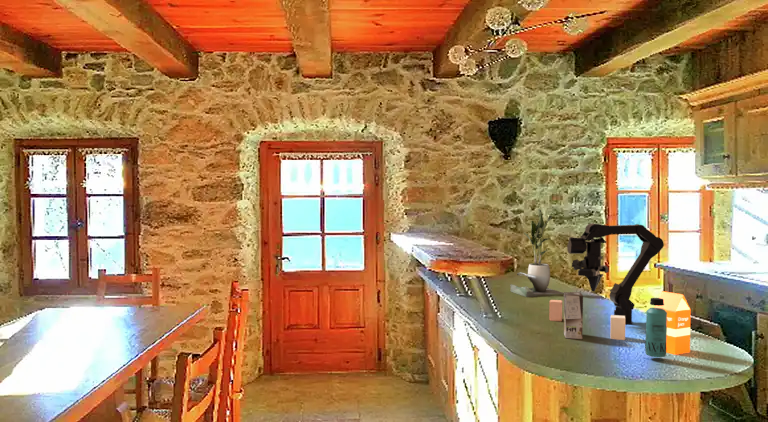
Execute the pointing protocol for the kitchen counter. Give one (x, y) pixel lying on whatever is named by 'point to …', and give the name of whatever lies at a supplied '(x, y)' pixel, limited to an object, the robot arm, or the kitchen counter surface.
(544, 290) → the potted plant
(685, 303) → the orange juice
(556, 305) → the terracotta block
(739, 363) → the kitchen counter surface
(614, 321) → the cream block
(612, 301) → the robot arm
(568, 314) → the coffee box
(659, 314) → the beverage bottle
